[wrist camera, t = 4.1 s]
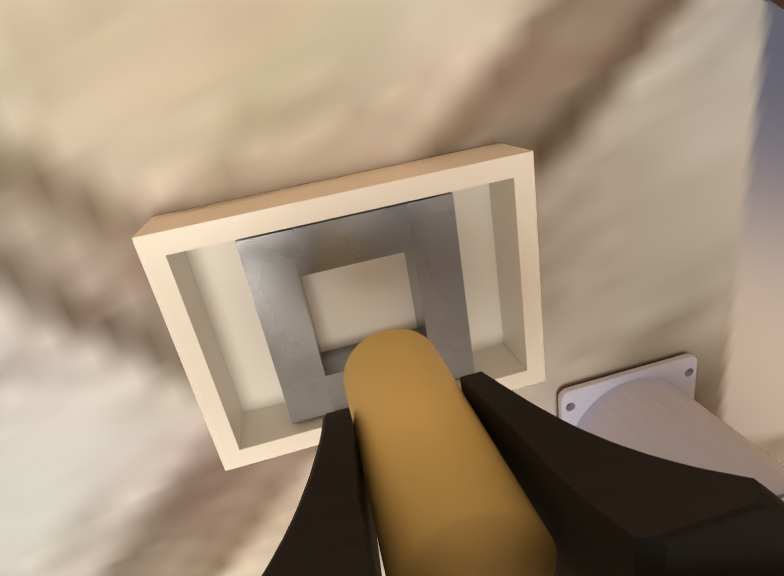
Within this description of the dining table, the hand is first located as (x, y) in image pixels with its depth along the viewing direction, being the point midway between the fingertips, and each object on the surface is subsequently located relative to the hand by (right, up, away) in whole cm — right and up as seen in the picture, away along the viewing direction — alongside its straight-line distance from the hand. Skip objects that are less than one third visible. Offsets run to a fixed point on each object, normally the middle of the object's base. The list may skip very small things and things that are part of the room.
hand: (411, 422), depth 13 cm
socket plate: (-2, +3, +9) cm, 9 cm away
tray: (-2, +3, +9) cm, 9 cm away
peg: (0, +1, +2) cm, 2 cm away
